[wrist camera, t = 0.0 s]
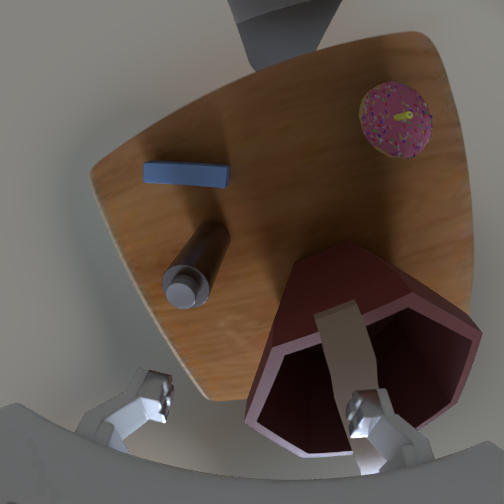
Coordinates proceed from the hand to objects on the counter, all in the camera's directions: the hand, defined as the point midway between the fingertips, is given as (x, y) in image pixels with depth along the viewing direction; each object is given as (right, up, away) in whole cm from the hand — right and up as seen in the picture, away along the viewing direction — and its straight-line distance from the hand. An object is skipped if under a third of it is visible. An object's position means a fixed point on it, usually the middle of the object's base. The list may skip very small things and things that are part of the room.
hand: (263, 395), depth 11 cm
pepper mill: (-5, +8, +24) cm, 26 cm away
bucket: (+11, 0, +27) cm, 29 cm away
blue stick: (-8, +16, +21) cm, 28 cm away
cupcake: (+15, +22, +17) cm, 31 cm away
